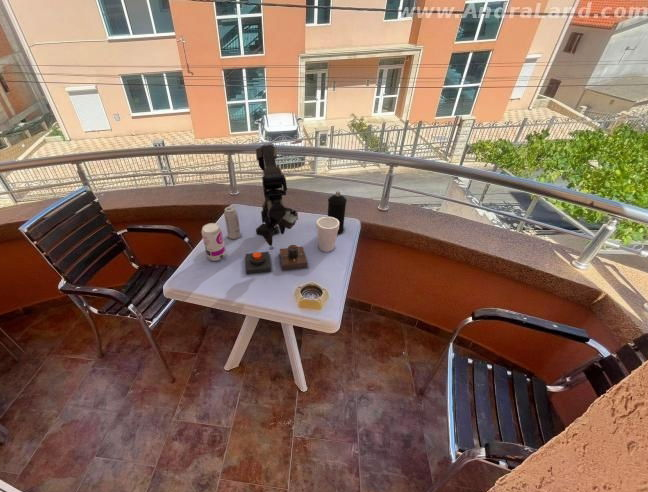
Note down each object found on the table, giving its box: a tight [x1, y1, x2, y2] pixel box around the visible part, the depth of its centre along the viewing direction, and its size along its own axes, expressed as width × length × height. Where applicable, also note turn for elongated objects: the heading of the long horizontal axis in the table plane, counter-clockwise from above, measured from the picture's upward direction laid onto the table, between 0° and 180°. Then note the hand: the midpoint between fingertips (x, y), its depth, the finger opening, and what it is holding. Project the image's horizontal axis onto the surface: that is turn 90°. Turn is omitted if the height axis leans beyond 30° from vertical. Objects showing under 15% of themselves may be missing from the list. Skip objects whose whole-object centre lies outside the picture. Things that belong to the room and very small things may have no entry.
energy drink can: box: [223, 205, 241, 240], centre depth 148 cm, size 6×6×15 cm
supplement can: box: [200, 222, 227, 262], centre depth 137 cm, size 8×8×15 cm
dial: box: [287, 244, 299, 258], centre depth 133 cm, size 4×4×4 cm
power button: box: [253, 251, 262, 260], centre depth 133 cm, size 4×4×2 cm
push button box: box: [245, 251, 272, 275], centre depth 134 cm, size 11×10×4 cm
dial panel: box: [279, 246, 308, 271], centre depth 135 cm, size 11×10×3 cm
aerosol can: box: [327, 190, 348, 235], centre depth 146 cm, size 8×8×20 cm
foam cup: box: [316, 216, 339, 253], centre depth 138 cm, size 10×9×13 cm
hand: (276, 239), depth 128 cm, fingers open, 9 cm apart
